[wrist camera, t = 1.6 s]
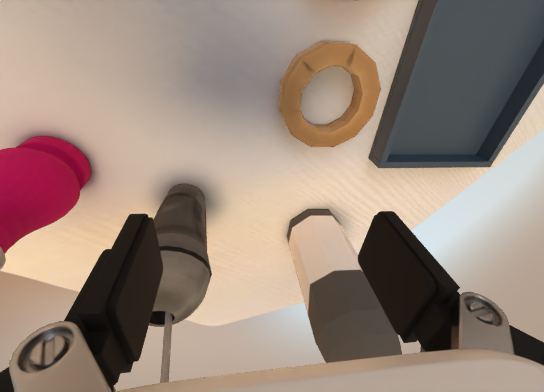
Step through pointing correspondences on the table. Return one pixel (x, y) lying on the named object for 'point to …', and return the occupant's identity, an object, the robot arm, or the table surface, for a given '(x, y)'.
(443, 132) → the tray
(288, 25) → the table surface
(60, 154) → the pepper mill
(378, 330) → the wine bottle
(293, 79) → the birch ring
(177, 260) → the beverage cup
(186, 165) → the table surface
